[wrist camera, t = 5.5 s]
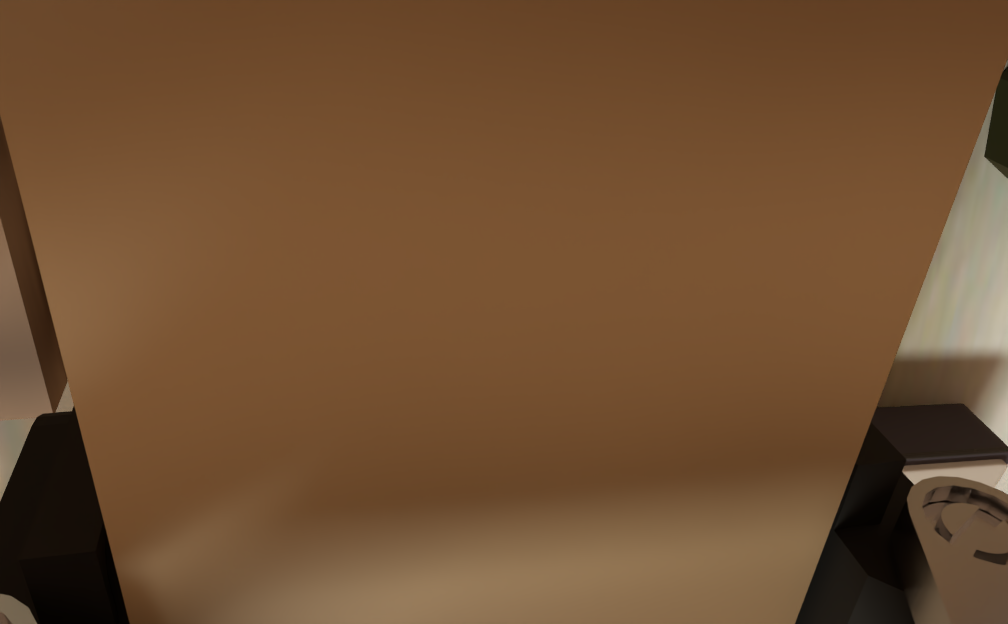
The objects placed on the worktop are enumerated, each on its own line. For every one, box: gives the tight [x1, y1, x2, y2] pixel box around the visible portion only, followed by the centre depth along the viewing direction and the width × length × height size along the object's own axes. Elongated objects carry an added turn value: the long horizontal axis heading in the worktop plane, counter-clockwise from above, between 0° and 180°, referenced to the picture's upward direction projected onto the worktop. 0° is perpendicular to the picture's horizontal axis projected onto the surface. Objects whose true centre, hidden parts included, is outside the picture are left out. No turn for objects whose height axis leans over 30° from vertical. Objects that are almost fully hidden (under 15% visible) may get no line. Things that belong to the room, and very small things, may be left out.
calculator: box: [871, 404, 1008, 488], centre depth 41 cm, size 11×4×15 cm
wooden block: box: [0, 0, 1008, 624], centre depth 9 cm, size 22×6×3 cm, turn 176°
